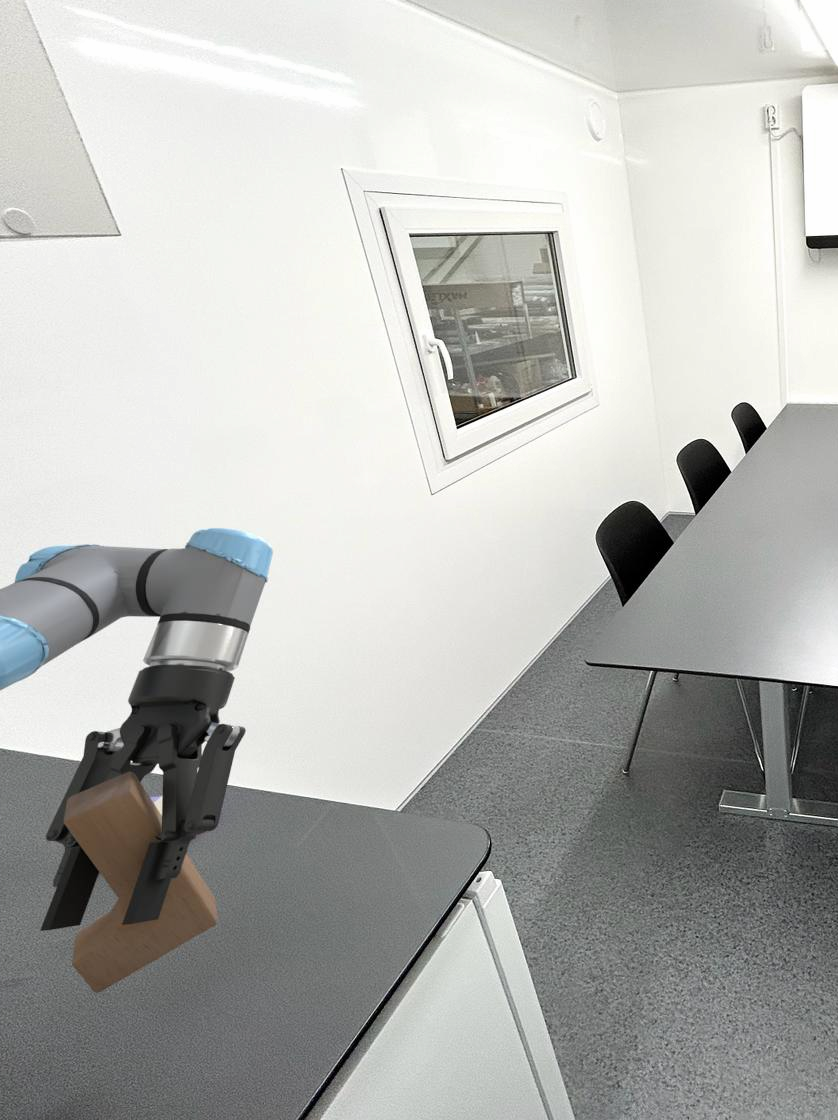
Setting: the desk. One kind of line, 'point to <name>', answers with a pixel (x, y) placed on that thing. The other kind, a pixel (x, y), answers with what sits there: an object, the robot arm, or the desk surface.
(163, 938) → the wooden block
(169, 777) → the robot arm
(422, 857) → the desk surface
